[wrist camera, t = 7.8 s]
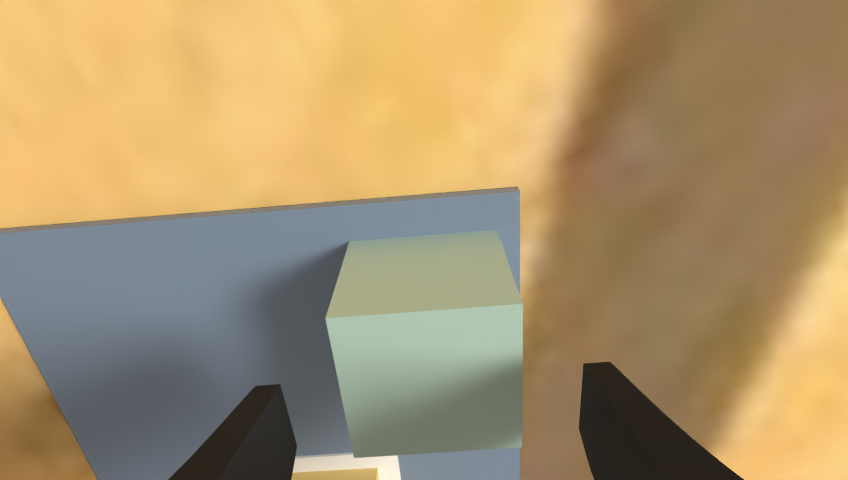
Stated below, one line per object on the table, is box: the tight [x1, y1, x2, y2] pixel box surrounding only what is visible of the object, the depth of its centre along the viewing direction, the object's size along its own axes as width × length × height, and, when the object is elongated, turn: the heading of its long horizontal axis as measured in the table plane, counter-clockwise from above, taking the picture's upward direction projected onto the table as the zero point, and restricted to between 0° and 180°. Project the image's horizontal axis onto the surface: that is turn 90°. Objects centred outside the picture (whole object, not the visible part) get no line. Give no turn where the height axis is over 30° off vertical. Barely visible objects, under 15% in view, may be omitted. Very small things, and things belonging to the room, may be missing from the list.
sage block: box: [325, 230, 523, 458], centre depth 14 cm, size 5×5×4 cm
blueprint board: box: [0, 187, 520, 480], centre depth 19 cm, size 17×17×1 cm
